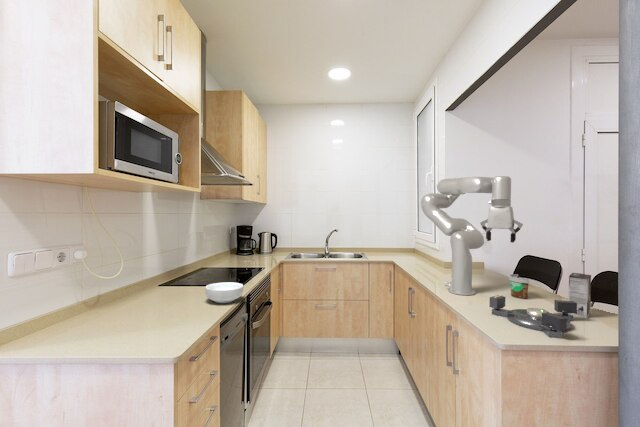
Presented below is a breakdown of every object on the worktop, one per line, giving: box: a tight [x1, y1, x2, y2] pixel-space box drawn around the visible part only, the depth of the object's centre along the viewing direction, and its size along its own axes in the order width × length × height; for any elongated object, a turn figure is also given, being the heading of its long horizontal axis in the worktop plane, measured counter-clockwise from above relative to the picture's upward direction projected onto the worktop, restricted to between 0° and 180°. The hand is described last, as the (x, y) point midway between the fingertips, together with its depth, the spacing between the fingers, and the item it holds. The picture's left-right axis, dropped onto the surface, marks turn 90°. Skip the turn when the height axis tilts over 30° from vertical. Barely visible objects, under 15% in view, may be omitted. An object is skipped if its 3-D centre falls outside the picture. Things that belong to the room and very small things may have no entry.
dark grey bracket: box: [489, 294, 506, 309], centre depth 136 cm, size 6×4×4 cm
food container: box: [508, 273, 530, 300], centre depth 164 cm, size 12×6×10 cm, turn 172°
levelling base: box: [491, 299, 577, 339], centre depth 128 cm, size 26×30×7 cm
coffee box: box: [568, 272, 592, 319], centre depth 137 cm, size 9×6×16 cm
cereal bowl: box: [204, 281, 244, 304], centre depth 151 cm, size 17×17×7 cm
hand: (500, 241), depth 151 cm, fingers open, 9 cm apart
